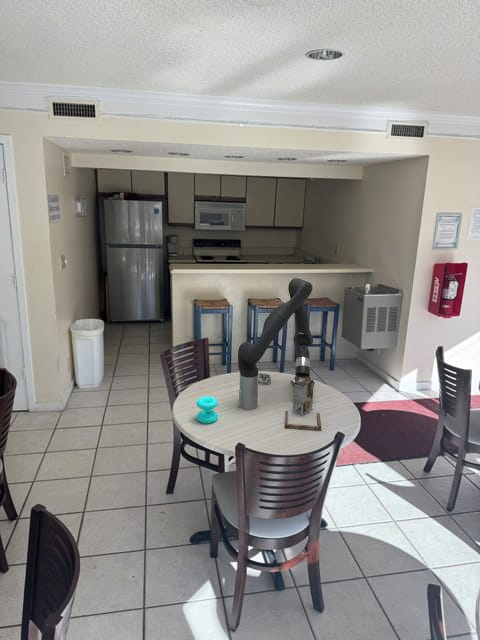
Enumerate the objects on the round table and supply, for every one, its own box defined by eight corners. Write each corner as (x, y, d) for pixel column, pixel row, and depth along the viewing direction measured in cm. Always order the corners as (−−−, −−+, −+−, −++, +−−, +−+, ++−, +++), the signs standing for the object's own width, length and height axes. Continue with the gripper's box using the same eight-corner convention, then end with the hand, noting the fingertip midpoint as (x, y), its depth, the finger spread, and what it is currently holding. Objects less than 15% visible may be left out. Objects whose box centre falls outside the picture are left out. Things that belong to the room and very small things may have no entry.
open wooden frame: (284, 428, 200) (285, 424, 200) (285, 414, 214) (285, 410, 213) (321, 430, 198) (321, 427, 198) (319, 416, 212) (319, 413, 211)
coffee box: (301, 406, 222) (303, 376, 218) (312, 409, 219) (314, 379, 214) (291, 412, 216) (293, 381, 212) (302, 416, 212) (304, 385, 208)
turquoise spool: (192, 401, 203) (204, 393, 212) (192, 421, 206) (204, 412, 214) (210, 406, 198) (221, 398, 207) (210, 426, 201) (221, 417, 209)
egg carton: (271, 385, 248) (271, 379, 247) (257, 385, 248) (257, 378, 247) (270, 378, 258) (271, 371, 257) (258, 377, 258) (258, 371, 257)
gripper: (290, 364, 228) (289, 395, 219) (315, 365, 226) (316, 397, 218) (289, 369, 234) (288, 400, 226) (314, 371, 233) (314, 402, 224)
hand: (302, 399), depth 222 cm, fingers closed
